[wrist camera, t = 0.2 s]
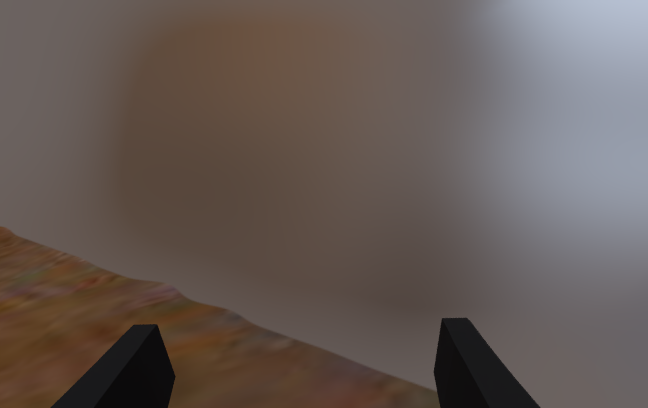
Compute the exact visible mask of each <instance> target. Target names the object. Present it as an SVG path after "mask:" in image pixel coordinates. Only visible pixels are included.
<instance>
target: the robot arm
mask: <svg viewBox="0 0 648 408" xmlns="http://www.w3.org/2000/svg"><path fill="white" fill-rule="evenodd" d="M434 376H435V381H436V387H437V392H438V397H439V402H440V407H441V408H540V407H539V405H538V404H537V403H536V402H535V401H534V400H533V399H532V398H531V396H530V395H529V394H528V393H527V392H526V390H525V389H524V388H523V387H522V386H521V385H520V384H519V382H518V381H517V380H516V379H515V377H514V376H513V375H512V374H511V373H510V371H509V370H508V369H507V368H506V367H505V365H504V364H503V363H502V362H501V360H500V359H499V358H498V357H497V355H496V354H495V353H494V352H493V350H492V349H491V348H490V346H489V345H488V344H487V343H486V341H485V340H484V339H483V338H482V336H481V335H480V333H479V332H478V331H477V329H476V328H475V327H474V325H473V324H472V323H471V322H470V320H468V319H467V318H442V322H441V328H440V335H439V341H438V348H437V354H436V361H435V367H434ZM174 380H175V374H174V371H173V368H172V365H171V363H170V360H169V357H168V354H167V351H166V348H165V345H164V343H163V340H162V337H161V334H160V331H159V328H158V325H157V324H149V325H133V326H132V327H131V328H130V329H129V330H128V331H127V332H126V333H125V334H124V335H123V336H122V337H121V338H120V339H119V340H118V341H117V342H116V343H115V344H114V345H113V346H112V347H111V348H110V349H109V350H108V351H107V352H106V353H105V354H104V355H103V356H102V357H101V358H100V359H99V360H98V361H97V362H96V363H95V364H94V365H93V366H92V367H91V368H90V369H89V370H88V371H87V372H86V373H85V374H84V375H83V376H82V377H81V378H80V379H79V380H78V381H77V382H76V383H75V384H74V385H73V386H72V387H71V388H70V389H69V390H68V391H67V392H66V393H65V394H64V395H63V396H62V397H61V398H60V399H59V400H58V401H57V402H56V403H55V404H54V405H53V406H52V407H51V408H168V404H169V401H170V397H171V393H172V388H173V384H174Z"/></svg>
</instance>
